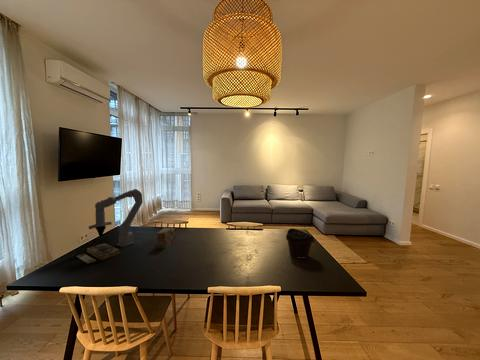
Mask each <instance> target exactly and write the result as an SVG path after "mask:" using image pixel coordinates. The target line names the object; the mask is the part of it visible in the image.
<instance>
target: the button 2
mask: <svg viewBox="0 0 480 360" xmlns="http://www.w3.org/2000/svg"><path fill="white" fill-rule="evenodd" d="M102 244H103V245H101V244H99V245H100V246H99V250H100V251H104V250H106V249H107V245H106V244H107V243H106V244H104V243H102Z"/></svg>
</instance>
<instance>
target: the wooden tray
mask: <svg viewBox="0 0 480 360" xmlns="http://www.w3.org/2000/svg"><path fill="white" fill-rule="evenodd" d="M103 244H106V245H107V249H111V250H112V252H109V253H106V254H105V253H104V251H100V250H99V248H98V249H95V246H96V245H94V246H90V247H87V248H86V253H87V254H89V255H90V256H91V257H92V256H93V257H95V259H98V260H100V261H103V260H106V259H108V258H111V257H114V256H117V255H120V249H119V248H117V247H114V246H112V245H110V244H107V243H104V242H103V243H102V244H100V245H103Z"/></svg>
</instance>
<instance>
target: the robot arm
mask: <svg viewBox="0 0 480 360" xmlns="http://www.w3.org/2000/svg"><path fill="white" fill-rule="evenodd" d="M126 198H133V199H134V204H133V205H132V207H131V209H130V211H129V212H128V214H127V216H126V218H125V220H124V221H123V222H122V223H121V224H120V225H119V227H118V229H119V232H118V242H119V243H116V246H119V247H121V248H124V247H127V246H130V245H133V244H134V234H133V232H132V231H130V228H131V224H132V223H133V220H134V219H135V217H136V215H137V214H138V212H139V209H141V207H142V205H143V194H142V192H141V191H140V190H139V189H136V188H135V189H131V190H128V191H125V192H124V193H121V194H119V195H117V196H115V197H114V196H111V197H110V196H108V197H107V198H105V199H103V200H100V201H97V202H96V203H95V204H94V208H95V213H94V215H95V224H93V225H92V224H91V225H89V226H88V230H92V229H96V231H97V234H98V236H99V237H100V238H101V237H103V236H104V232H105V230H106V228H107V226H109V225H110V226H111V225H112V224H113V223H112V221H107V222H106V213H105V208H108V207H111V206H113V205H115V204H116V203H117V202H119V201H120V200H125V199H126Z"/></svg>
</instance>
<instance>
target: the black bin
mask: <svg viewBox="0 0 480 360" xmlns="http://www.w3.org/2000/svg"><path fill="white" fill-rule="evenodd" d="M285 239H286V241H287V244H288V251H289V255H290V257H293V259H298V260H299V259H300V260H305V259H308V257H309V254H310V251H311V247H312V244H314V243H315V238H314V236H313V234H309V233H306V232H304V231H301V230H299V229H296V228H289V229H288V230H287V234H286V236H285ZM307 256H308V257H307ZM298 257H301V258H298ZM302 257H305V258H302Z"/></svg>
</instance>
